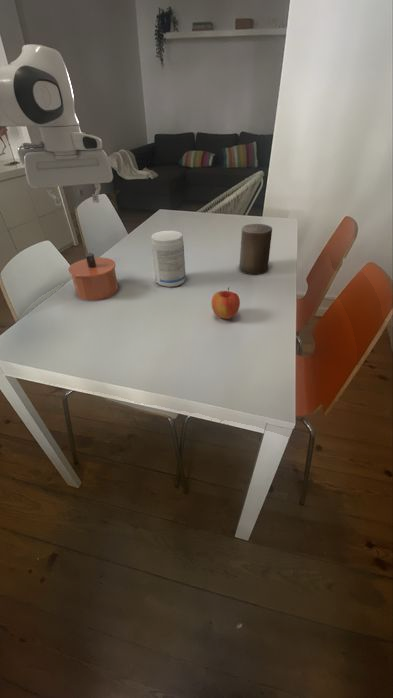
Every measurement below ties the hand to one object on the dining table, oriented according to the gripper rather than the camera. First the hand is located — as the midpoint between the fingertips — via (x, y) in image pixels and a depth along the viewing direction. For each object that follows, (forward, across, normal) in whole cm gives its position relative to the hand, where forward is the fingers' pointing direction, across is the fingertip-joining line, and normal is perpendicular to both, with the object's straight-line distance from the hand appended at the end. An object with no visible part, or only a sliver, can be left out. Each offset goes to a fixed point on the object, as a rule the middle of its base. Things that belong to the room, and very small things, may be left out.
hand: (77, 204), depth 83 cm
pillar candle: (+25, +52, -3) cm, 58 cm away
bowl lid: (+18, 0, 0) cm, 18 cm away
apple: (+25, +31, -28) cm, 49 cm away
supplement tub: (+25, +23, -2) cm, 34 cm away
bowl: (+25, 0, 0) cm, 25 cm away
